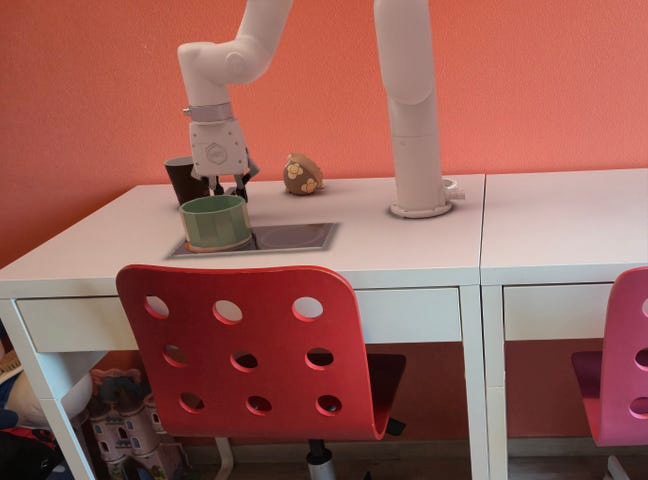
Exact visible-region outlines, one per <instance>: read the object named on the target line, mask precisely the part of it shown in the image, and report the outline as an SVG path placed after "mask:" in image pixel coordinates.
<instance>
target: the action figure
mask: <svg viewBox="0 0 648 480" xmlns="http://www.w3.org/2000/svg"><path fill="white" fill-rule="evenodd" d="M286 160H287V161H288V162H287V163H286V164H285V166H284V169H283V172H282V173H283V175H282V177H283V178H282V179H283V183H284V186H285V188H284V191H285V192H289V193H292V194H294V195H297V196H305V195H306V196H307V195H311V194H312V193H313V192H315V191H316V190H317V189H323V187H324V182H323V179H324V174H323V172H322V171H321V167H319V166H318V165H317V163H316V162H315V161H314V160H312V159H310V158H309V157H307V155H305V154H303V153H299V152H290V154H288V155H287V156H286Z"/></svg>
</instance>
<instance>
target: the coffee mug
mask: <svg viewBox="0 0 648 480" xmlns="http://www.w3.org/2000/svg"><path fill="white" fill-rule="evenodd" d="M163 165H164V167H165V171H166V172H167V173H166V174H167V176H168V178H169V180H170V181H169V182H170V183H171V186H172V188H173V190H174V191H173V192H174V193H175V195H176V199H177V202H178V203H179V207H181V206H182V205H183V204H184V203H186V202H189V201H192V200H195V199H198V198H203V197H208V196H211V189H210V187H209V186H208V185H206V184H205V183H204V182H202V181H201V180H198V179H196V178H194V177H192V176H191V172H192V169H193V166H194V162H193V157H192V155H185V156H177V157H173V158H169V159H167V160H165V161H164V162H163Z"/></svg>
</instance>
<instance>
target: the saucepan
mask: <svg viewBox="0 0 648 480" xmlns="http://www.w3.org/2000/svg"><path fill="white" fill-rule="evenodd" d="M236 189H237V186H229V187H228V188H227V189H226V190H225V191H224V192H225V193H224V194H223V195H215V196H214V195H210V196H208V197H203V198H198V199H195V200H192V201H189V202H186V203H184V204H183V205H182V206H179V207H178V210H179V215H180V218H181V222H182V227H183V230H184V234H185V238H187V241H188V243H189V246H190V247H191V248H193V249H196V250H204V251H212V250H222V249H227V248H231V247H235V246H238V245H241V244H243V243H245V242H247V241H248V240H250V239H251V237H252V234H251V233H252V229H251V227H252V225H251V219H250V215H249V211H248V206H247V205H246V201H245V199H243V198H242V197H241V196H237V195H236Z"/></svg>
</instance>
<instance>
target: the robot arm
mask: <svg viewBox="0 0 648 480" xmlns="http://www.w3.org/2000/svg"><path fill="white" fill-rule="evenodd" d="M293 3H294V0H247V1H246V5H245V9H244V13H243V17H242V19H241V22H240V25H239V28H238V30H237V33H236V35H235V39H232V40H229V41H227V42H222V43H221V42H220V43H215V42H212V41H195V42H187V43H186V42H185V43H182V44H180V45H179V46H178V47H177V50H176V51H177V52H176V53H177V59H178V63H179V68H180V72H181V77H182V80H183V84H184V88H185V93H186V96H187V101H188V106H187V107H185V108H183V109H182V111H183V115H184V116H188V117H190V120H192V121H191V122H189V123H188V130H189V131H188V133H189V144H190V149H191V156H192V157H193V162H194V166H193V169H192V172H191V176H192V177H194V178H196V179H198V180H201V181H202V182H204V183H205V184H206V185H208V186H209V187H210V191H212V192H213V196H215V195H223V194H224V193H225V192H226V191H225V189H224V187H223V186H222V184H221V182H220V176H233V179H234V181H235V183H236V187H237V189H236V196H241V197H242V198H243V199H245V201H246V206H247V204H248V203H249V197H248V192H247V188H246V186H247V184H248V183H249V181H251V179H253V177H255V176H257V175H258V174H259V173H260V172H261V169H260V167H259V166H258V165H257V163H256V162H255V160H254V159H253V158H252V157H251V154H250V150H249V147H248V143H247V140H246V136H245V134H244V131H243V128H242V126H241V122H240V120H239V118H238V117H235V115H234V110H233V106H232V101H231V96H230V91H229V87H228V85H233V86H235V85H236V86H245V85H250V84H252V83H254V82H255V81H257V80H258V79H259V78H260V77H262V76H263V75H265V73H266V72H267V71H268V69H269V67H270V65H271V64H272V61H273V58H274V56H275V54H276V51H277V48H278V46H279V43H280V40H281V38H282V36H283V32H284V29H285V26H286V23H287V20H288V17H289V15H290V12H291V10H292V8H293ZM430 13H431V12H430V5H429V0H373V21H374V28H375V36H376V44H377V52H378V61H379V68H380V77H381V82H382V85H383V88H384V90H385V92H386V101H387V111H388V121H389V132H390V143H391V151H392V161H393V170H394V179H395V188H396V189H395V190H396V200H394V201H393V202H392V203H391V204H390V212H391V213H393V214H395V215H398V216H401V217H403V218H408V219H409V218H410V219H417V218H418V219H421V218H430V217H436V216H440V215H443V214H445V213H447V212H448V211H450V210H451V209H452V207H453V205H452V201H453V200H457V201H463V200H465V201H466V190H465V189H460V188H459V187H457V188H449V187H445V186H446V185H445V182H443V172H442V170H443V169H442V157H441V143H440V142H441V141H440V131H439V130H440V129H439V128H440V127H439V113H438V102H437V101H438V100H437V87H436V69H435V60H434V59H435V58H434V48H433V35H432V25H431V24H432V23H431V15H430ZM247 170H249V171H247Z"/></svg>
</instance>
